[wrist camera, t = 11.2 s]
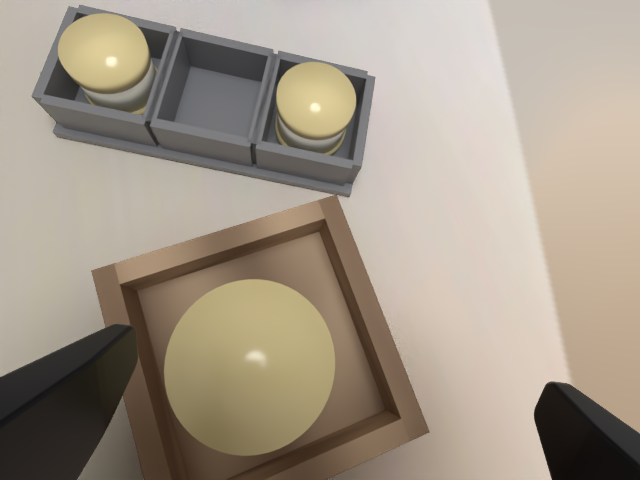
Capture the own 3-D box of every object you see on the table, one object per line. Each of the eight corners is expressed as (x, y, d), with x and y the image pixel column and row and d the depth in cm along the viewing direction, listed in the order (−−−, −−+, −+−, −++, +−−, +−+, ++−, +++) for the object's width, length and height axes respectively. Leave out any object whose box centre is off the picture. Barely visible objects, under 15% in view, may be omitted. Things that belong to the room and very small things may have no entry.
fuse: (101, 132, 23) (71, 94, 19) (79, 71, 24) (47, 24, 20) (173, 110, 24) (157, 71, 20) (151, 52, 25) (132, 5, 21)
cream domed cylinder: (291, 172, 24) (295, 143, 20) (264, 111, 24) (264, 74, 21) (354, 149, 25) (368, 118, 21) (327, 92, 25) (336, 53, 22)
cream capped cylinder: (233, 408, 20) (191, 486, 9) (208, 327, 21) (144, 311, 10) (313, 377, 21) (359, 414, 10) (286, 299, 21) (302, 258, 11)
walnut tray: (181, 516, 19) (163, 553, 16) (119, 281, 22) (91, 270, 18) (404, 417, 22) (429, 431, 18) (326, 215, 24) (336, 194, 21)
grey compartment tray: (365, 97, 26) (376, 67, 23) (349, 196, 24) (359, 177, 21) (95, 36, 25) (72, -4, 22) (57, 136, 23) (26, 107, 20)
